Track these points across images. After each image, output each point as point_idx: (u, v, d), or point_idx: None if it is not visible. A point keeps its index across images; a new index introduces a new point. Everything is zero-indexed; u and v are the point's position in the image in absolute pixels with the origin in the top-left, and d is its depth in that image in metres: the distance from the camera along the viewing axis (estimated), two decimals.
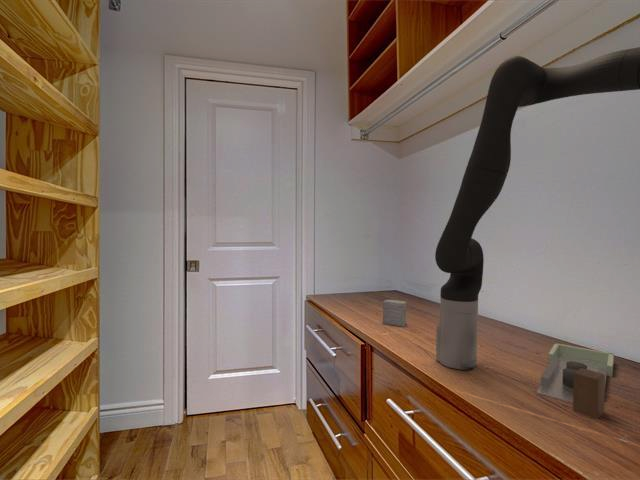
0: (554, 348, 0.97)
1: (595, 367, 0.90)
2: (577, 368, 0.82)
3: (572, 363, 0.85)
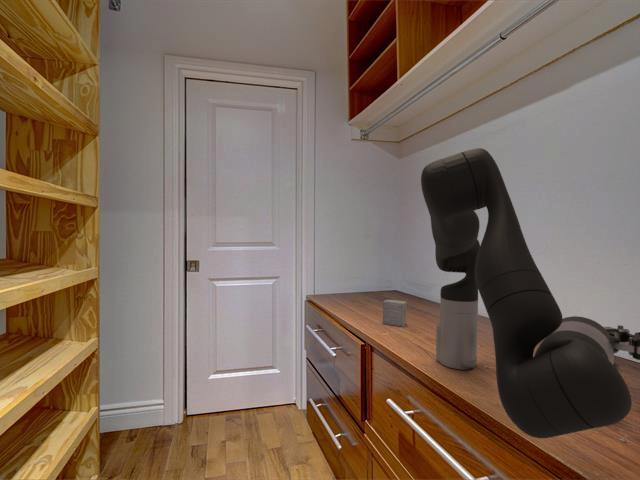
0: None
1: None
2: None
3: None
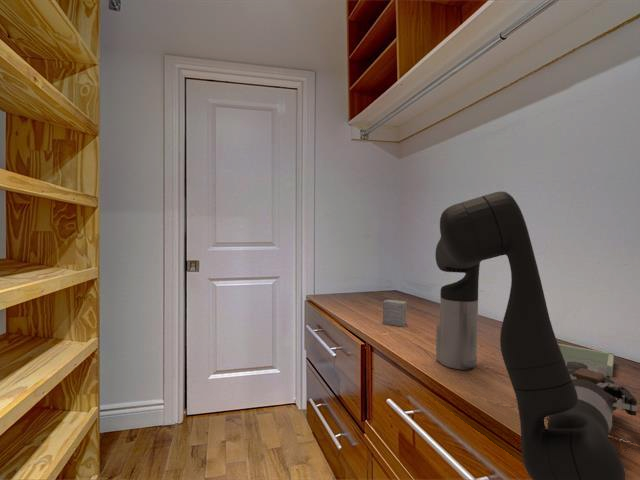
0: None
1: (595, 367, 0.90)
2: (578, 368, 0.82)
3: (572, 363, 0.84)
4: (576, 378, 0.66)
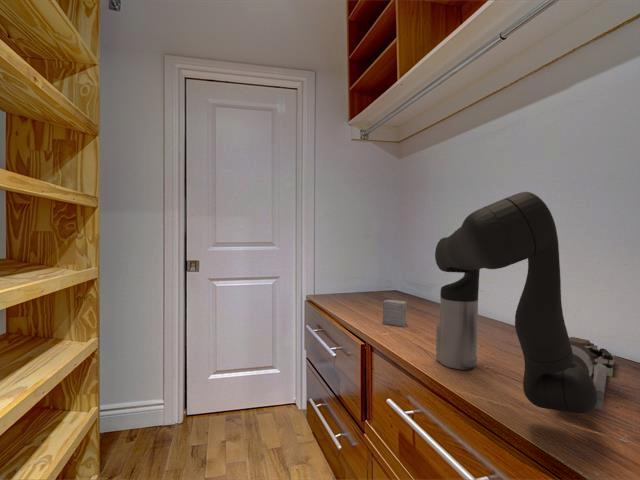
0: None
1: (595, 367, 0.90)
2: None
3: None
4: None
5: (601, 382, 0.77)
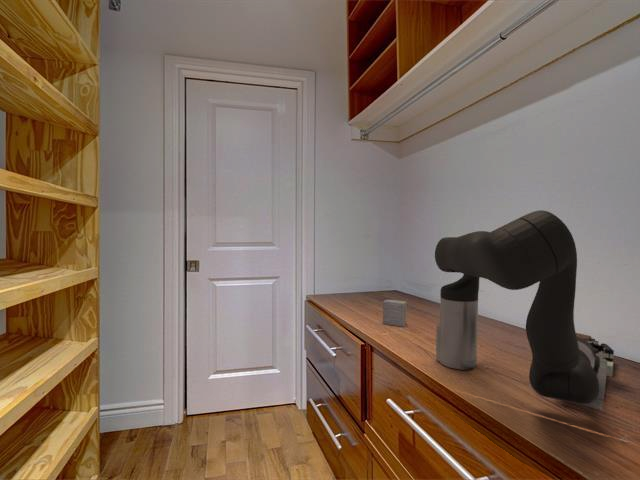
0: None
1: None
2: None
3: None
4: None
5: (601, 382, 0.77)
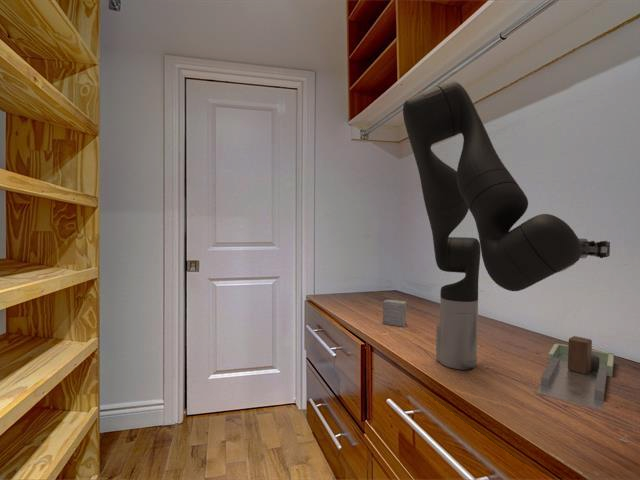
0: (554, 348, 0.97)
1: None
2: None
3: None
4: None
5: (601, 382, 0.77)
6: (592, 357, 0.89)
